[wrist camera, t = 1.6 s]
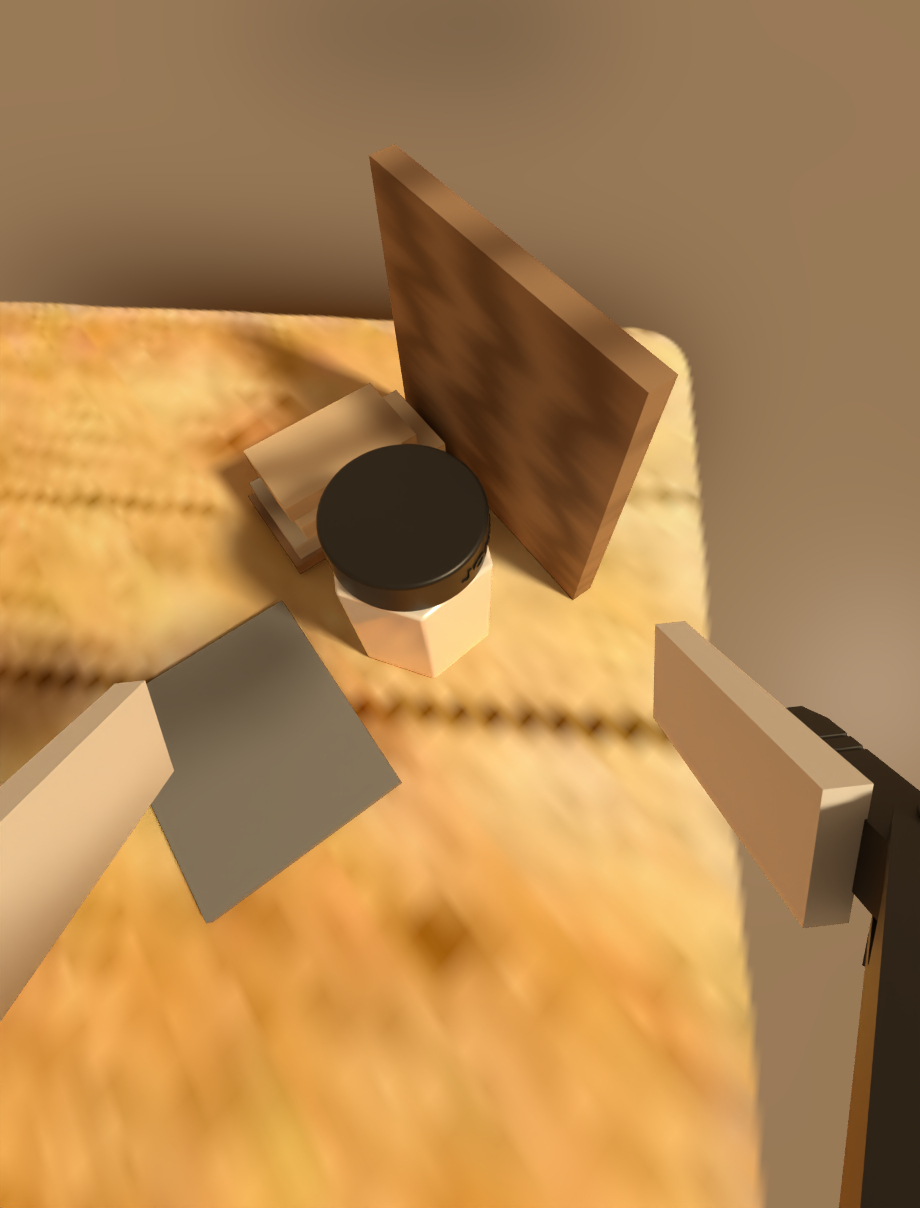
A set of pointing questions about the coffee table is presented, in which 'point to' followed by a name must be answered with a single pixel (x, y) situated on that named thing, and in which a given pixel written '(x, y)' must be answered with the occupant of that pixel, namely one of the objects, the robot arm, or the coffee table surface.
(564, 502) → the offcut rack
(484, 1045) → the coffee table surface
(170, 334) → the coffee table surface
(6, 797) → the robot arm
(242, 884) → the rubber mat
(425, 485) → the jar
